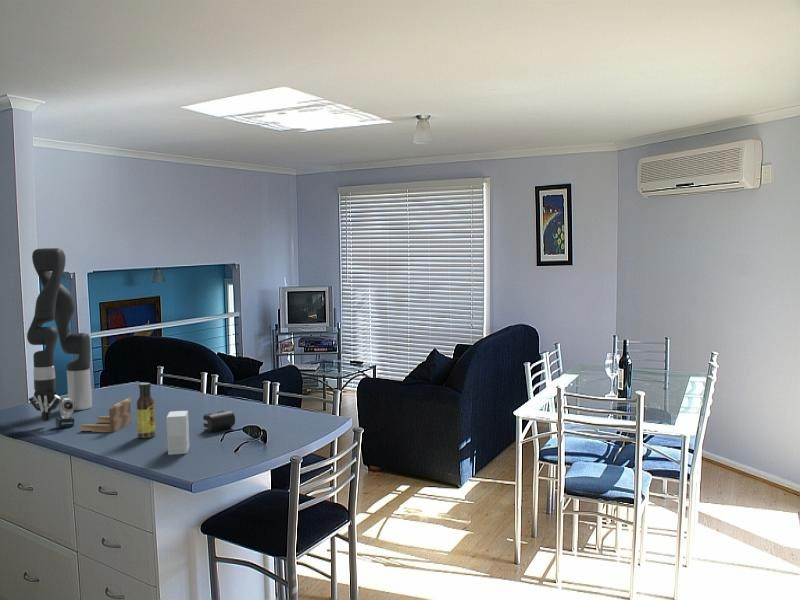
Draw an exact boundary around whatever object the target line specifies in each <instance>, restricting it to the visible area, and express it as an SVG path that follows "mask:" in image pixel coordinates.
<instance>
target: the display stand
mask: <svg viewBox="0 0 800 600" xmlns="http://www.w3.org/2000/svg"><path fill="white" fill-rule="evenodd" d="M131 401H133V397H128V398H126V399H124V400H121V401H120V402H117V403H116V404H112V406H111V407H110V408H108V409H109V410H108V411H109V412H108V414H109V415H107V416H104V415H100V416H97V424H96V423H95V424H93V423H91V424H87V423H86V424H85V423H84V424H80V432H81V431H92V432H91V433H114V432H116V431H119V430H120V429H122V428H124V427H126V426H127V425H129V424H131V423H132V414H131V413H132V412H131V411H132V410H131V407H132V406H131Z"/></svg>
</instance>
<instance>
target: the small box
mask: <svg viewBox="0 0 800 600" xmlns="http://www.w3.org/2000/svg"><path fill="white" fill-rule="evenodd" d="M165 420H166V435H167V436H166V438H167V455H169V456H171V455H172V456H173V455H182V454H183V455H184V454H188V452H189V449H190V433H189V432H190V431H189V430H190V429H189V427H190V426H189V425H190V424H189V423H190V422H189V411H188V410H175V411H174V410H173V411H169V412H168V414H167V416H166V419H165Z"/></svg>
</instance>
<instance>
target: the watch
mask: <svg viewBox="0 0 800 600" xmlns="http://www.w3.org/2000/svg"><path fill="white" fill-rule="evenodd" d="M75 407H76V405H75V404H74V402H73V401H72V400H71V399H70V398H68V397H66V398H65V397H64V398H63V397H62V400H61V402H60V403H59V414H60V415H59V417H57V416H56V417H55V427H57V428H58V429H63V428H64V427H65V428H71V427H70V426H75V418H74V417H73V416H72V414H73V413H74V411H75V410H74V408H75Z"/></svg>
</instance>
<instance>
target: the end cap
mask: <svg viewBox="0 0 800 600" xmlns="http://www.w3.org/2000/svg"><path fill="white" fill-rule="evenodd" d="M203 420H204V421H206V422H203V423H202V424H203V427H204V432H206V433H216V432H219V431H223V430H226V429H227V430H228V429H232V427H234V425H235V424H236V417H235V414H234V412H233V411H232V410H227V411H225V410H221V411H217V412H216V413H210V412H209V413H207V414H206V413H205V414H203Z"/></svg>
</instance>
